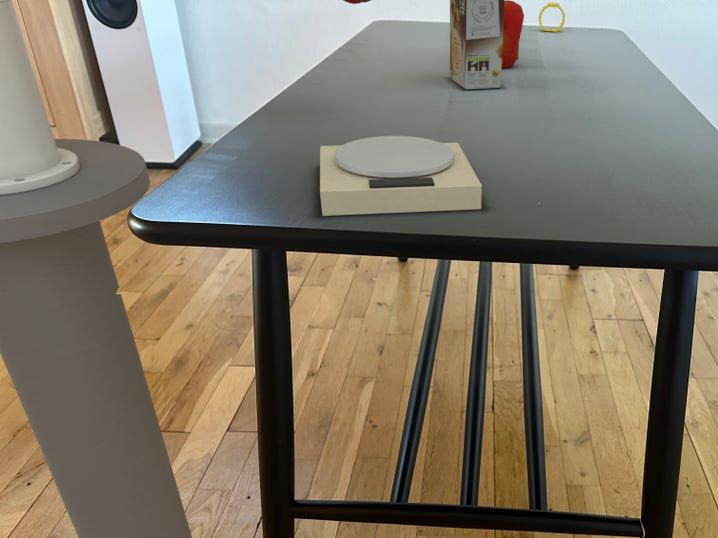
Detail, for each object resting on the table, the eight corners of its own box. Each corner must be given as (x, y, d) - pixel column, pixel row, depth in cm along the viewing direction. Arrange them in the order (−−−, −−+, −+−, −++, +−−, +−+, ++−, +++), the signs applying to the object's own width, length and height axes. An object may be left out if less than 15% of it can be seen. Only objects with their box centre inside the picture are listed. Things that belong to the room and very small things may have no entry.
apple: (498, 59, 130) (500, -11, 124) (531, 66, 126) (536, -6, 119) (465, 65, 125) (466, -9, 119) (498, 72, 120) (501, -4, 114)
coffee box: (502, 88, 110) (507, -27, 101) (464, 90, 108) (466, -27, 99) (483, 76, 117) (486, -32, 108) (447, 78, 116) (447, -32, 107)
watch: (538, 32, 161) (540, 3, 157) (537, 30, 163) (539, 2, 160) (564, 32, 161) (566, 4, 158) (562, 30, 163) (565, 2, 160)
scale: (322, 216, 64) (318, 181, 62) (322, 167, 75) (319, 137, 73) (481, 209, 66) (482, 175, 65) (457, 163, 78) (458, 134, 76)
